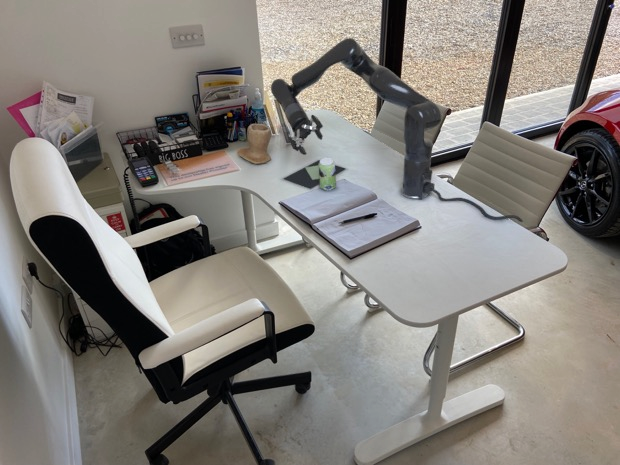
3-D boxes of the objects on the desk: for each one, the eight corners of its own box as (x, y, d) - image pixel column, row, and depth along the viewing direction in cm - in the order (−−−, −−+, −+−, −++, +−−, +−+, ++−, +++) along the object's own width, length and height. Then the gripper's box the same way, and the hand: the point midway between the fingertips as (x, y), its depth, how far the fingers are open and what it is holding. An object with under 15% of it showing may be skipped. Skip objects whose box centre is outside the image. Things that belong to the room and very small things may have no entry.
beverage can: (336, 184, 189) (336, 155, 183) (335, 193, 183) (335, 163, 177) (320, 184, 190) (319, 155, 184) (318, 193, 184) (317, 163, 177)
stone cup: (278, 160, 210) (276, 126, 203) (254, 168, 205) (250, 133, 197) (259, 150, 221) (256, 117, 213) (236, 157, 215) (232, 123, 207)
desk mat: (345, 169, 201) (345, 168, 201) (310, 188, 187) (310, 187, 187) (319, 161, 209) (318, 159, 208) (283, 179, 195) (283, 178, 194)
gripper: (315, 108, 193) (331, 137, 185) (291, 133, 199) (305, 161, 190) (303, 100, 187) (319, 129, 179) (278, 126, 193) (293, 155, 185)
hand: (312, 146), depth 185 cm, fingers open, 8 cm apart
